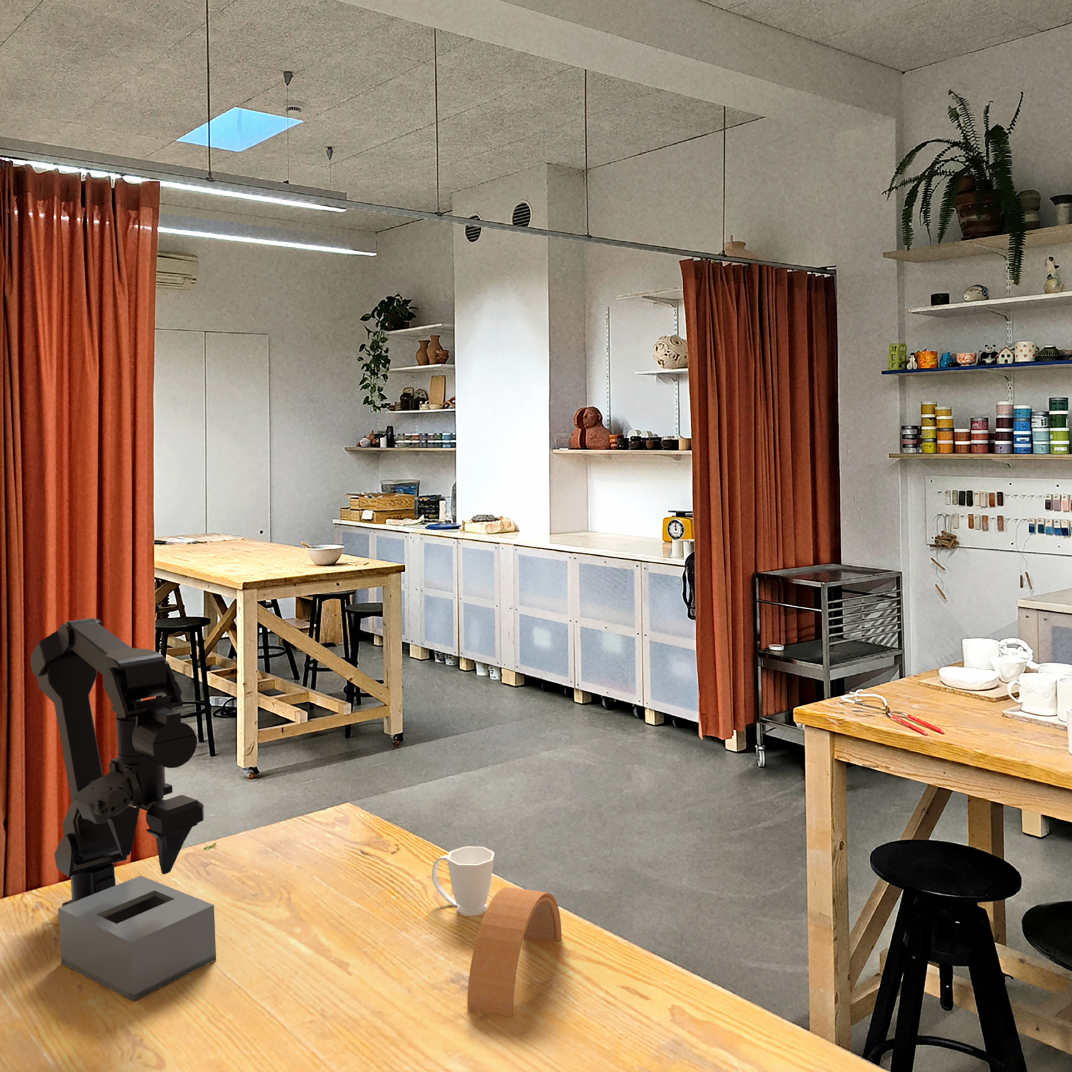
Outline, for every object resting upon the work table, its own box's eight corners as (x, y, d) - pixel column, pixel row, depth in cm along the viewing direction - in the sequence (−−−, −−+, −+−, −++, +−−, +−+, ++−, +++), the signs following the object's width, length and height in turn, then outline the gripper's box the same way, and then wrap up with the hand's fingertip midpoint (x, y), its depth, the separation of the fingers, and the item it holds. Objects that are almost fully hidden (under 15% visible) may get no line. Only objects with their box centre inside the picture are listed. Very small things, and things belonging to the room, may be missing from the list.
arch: (563, 939, 140) (562, 868, 139) (511, 1018, 121) (510, 936, 120) (522, 932, 142) (522, 862, 141) (465, 1009, 123) (464, 929, 122)
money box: (61, 963, 134) (58, 908, 133) (143, 927, 144) (140, 875, 143) (134, 1001, 125) (131, 942, 124) (216, 960, 135) (213, 904, 134)
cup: (480, 924, 144) (479, 868, 143) (420, 910, 148) (419, 856, 148) (504, 904, 150) (504, 850, 149) (446, 890, 155) (445, 838, 154)
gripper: (43, 752, 134) (49, 867, 136) (125, 781, 123) (130, 906, 125) (122, 731, 143) (126, 840, 145) (204, 757, 132) (208, 874, 133)
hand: (145, 864), depth 137 cm, fingers open, 9 cm apart
